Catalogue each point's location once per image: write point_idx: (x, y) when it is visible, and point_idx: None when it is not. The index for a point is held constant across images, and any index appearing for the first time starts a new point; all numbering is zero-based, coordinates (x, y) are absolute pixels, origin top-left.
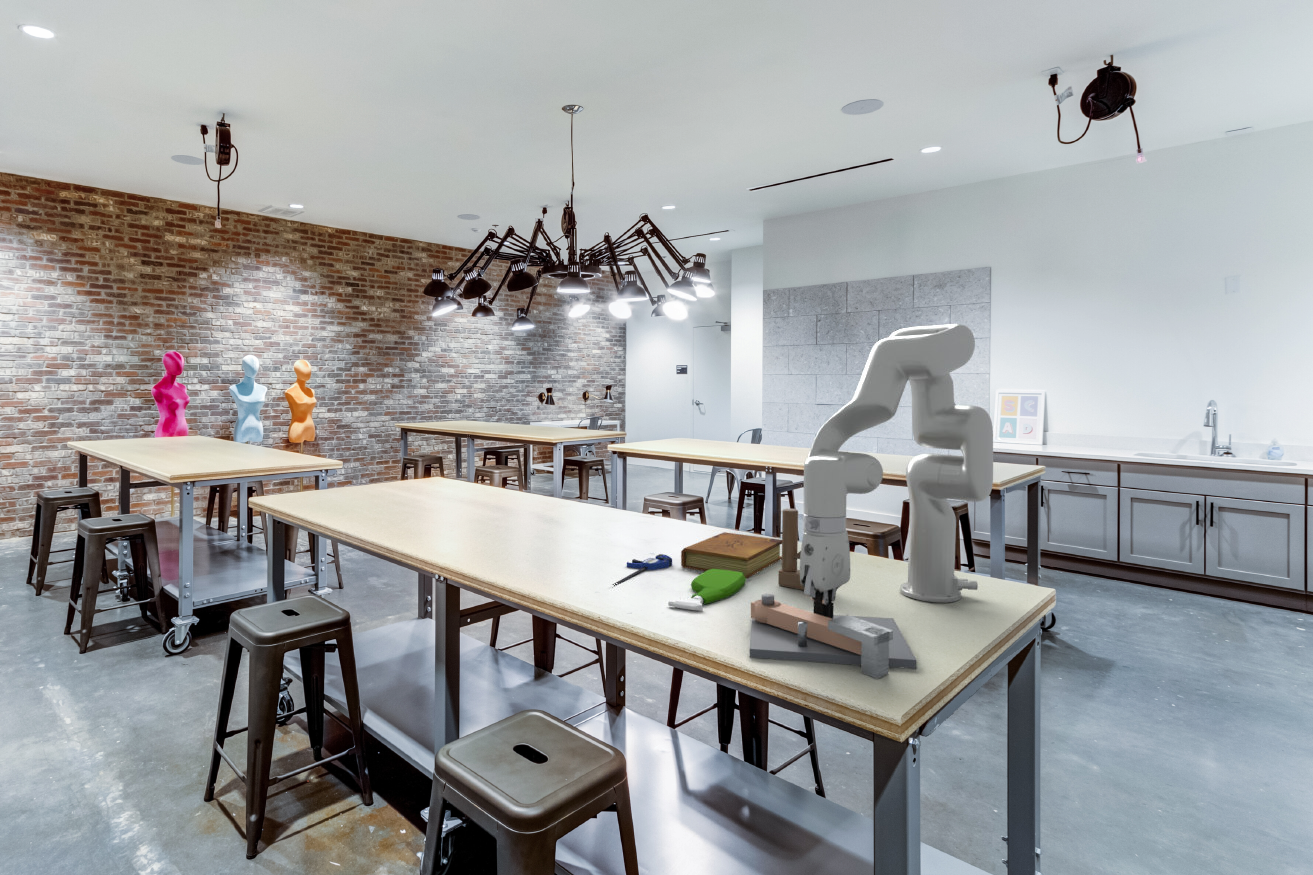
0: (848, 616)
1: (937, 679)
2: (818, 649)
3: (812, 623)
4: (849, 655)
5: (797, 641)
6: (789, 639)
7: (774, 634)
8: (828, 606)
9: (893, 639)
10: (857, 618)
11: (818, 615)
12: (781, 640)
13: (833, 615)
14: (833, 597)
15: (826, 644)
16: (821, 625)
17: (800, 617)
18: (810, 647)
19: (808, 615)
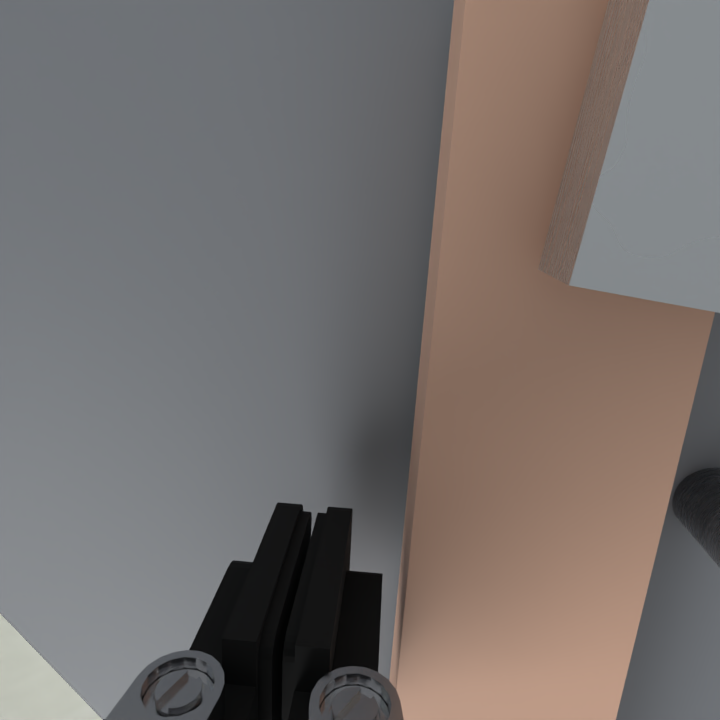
0: (637, 232)
1: None
2: (715, 374)
3: (640, 575)
4: None
5: (659, 556)
6: (655, 611)
7: (635, 716)
8: (332, 631)
9: (62, 15)
10: (643, 69)
11: (429, 622)
12: (712, 639)
13: (7, 602)
14: (161, 700)
15: None
16: (668, 484)
17: (601, 712)
18: (711, 437)
19: (497, 685)
